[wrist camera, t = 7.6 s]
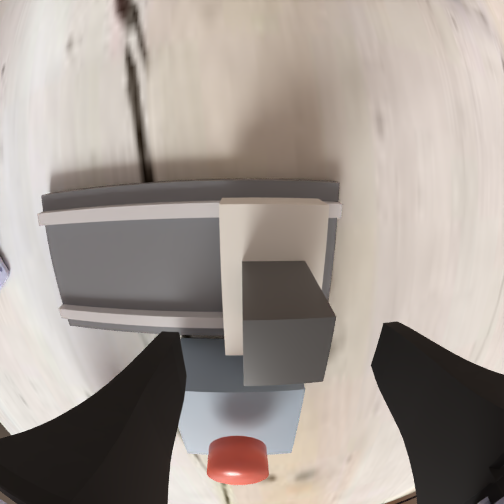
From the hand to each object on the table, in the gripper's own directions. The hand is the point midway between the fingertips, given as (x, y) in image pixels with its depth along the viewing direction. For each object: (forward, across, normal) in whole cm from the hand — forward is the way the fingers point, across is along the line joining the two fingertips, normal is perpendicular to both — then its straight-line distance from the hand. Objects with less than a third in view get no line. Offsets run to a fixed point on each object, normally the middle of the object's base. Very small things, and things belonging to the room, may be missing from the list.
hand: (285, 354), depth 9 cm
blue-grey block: (+9, +2, +10) cm, 14 cm away
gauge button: (+2, +2, +10) cm, 10 cm away
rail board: (+9, +5, 0) cm, 10 cm away
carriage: (+7, 0, 0) cm, 7 cm away
